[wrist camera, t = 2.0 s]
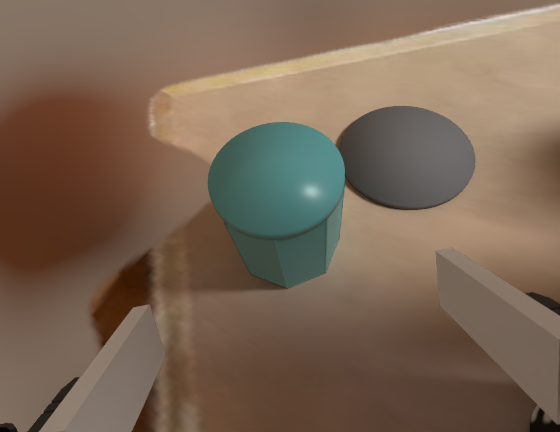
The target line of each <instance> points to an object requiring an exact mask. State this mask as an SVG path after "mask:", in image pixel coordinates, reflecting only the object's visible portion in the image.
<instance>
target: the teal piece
mask: <svg viewBox="0 0 560 432" xmlns="http://www.w3.org/2000/svg"><path fill="white" fill-rule="evenodd" d="M344 187H345V167H344V162H343V159H342V156H341V154H340V152H339V150H338V148H337V147H336V146H335V144H334V143H333V142H332V141H331V140H330V139H329V138H328V137H326V136H325V135H324V134H322V133H321V132H319V131H317V130H315V129H313V128H311V127H308V126H305V125H302V124H296V123H289V122H276V123H268V124H263V125H259V126H256V127H253V128H250V129H248V130H246V131H244V132H242V133H240V134H238V135H237V136H235V137H234V138H232V139H231V140H230V141H229V142H228V143H226V144H225V145H224V146H223V148H222V149H221V150H220V151H219V152H218V154H217V155H216V157H215V159H214V160H213V162H212V165H211V167H210V171H209V175H208V190H209V194H210V198H211V200H212V202H213V205H214V206H215V208H216V210H217V212H218V214H219V215H220V217H221V218H222V219H223V220H224V222H225V225H226V227H227V229H228V231H229V233H230V235H231V237H232V239H233V241H234V243H235V245H236V247H237V249H238V251H239V252H240V254H241V256H242V258H243V260H244V262H245V264H246V266H247V268H248V270H249V272H250V274H252V275H255V276H257V277H260V278H262V279H265V280H267V281H270V282H272V283H275V284H277V285H280V286H282V287H285V288H287V289H288V288H290V287H293V286H295V285H298V284H300V283H302V282H305V281H307V280H310V279H312V278H315V277H317V276H320V275H322V274H324V273H326V271H327V268H328V265H329V263H330V260H331V258H332V255H333V253H334V250H335V248H336V245H337V243H338V240H339V237H340V227H341V217H342V207H343V197H344Z"/></svg>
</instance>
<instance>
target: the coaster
mask: <svg viewBox="0 0 560 432" xmlns="http://www.w3.org/2000/svg"><path fill="white" fill-rule="evenodd" d="M340 154H341V156H342V159H343V162H344V167H345V176H346V178H347V179H348V181H349V182H350V183H351V184H352V185H353V187H354V188H355V189H356V190H358V191H359V192H360V193H361V194H363V195H364V196H366V197H367V198H369V199H371V200H373V201H375V202H377V203H379V204H382V205H385V206H388V207H393V208H397V209H406V210H418V209H427V208H431V207H435V206H438V205H441V204H444V203H446V202H448V201H450V200H451V199H453V198H454V197H456V196H457V195H458V194H459V193H460V192H461V191H462V190H463V189H464V188H465V187H466V185H467V184H468V182H469V181H470V179H471V177H472V175H473V172H474V168H475V154H474V150H473V147H472V144H471V142H470V140H469V139H468V137H467V136H466V134H465V133H464V132H463V131H462V130H461V129H460V128H459V127H458V126H457V125H456V124H455V123H453V122H452V121H451V120H449V119H447V118H446V117H444V116H442V115H440V114H438V113H435V112H433V111H430V110H426V109H422V108H418V107H411V106H393V107H386V108H381V109H378V110H374V111H372V112H369V113H367V114H365V115H363V116H362V117H360V118H359V119H357V120H356V121H355V122H354V123H353V124H352V125H351V126H350V127H349V128H348V129H347V131H346V132H345V134H344V136H343V138H342V141H341V146H340Z"/></svg>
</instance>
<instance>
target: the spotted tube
mask: <svg viewBox="0 0 560 432" xmlns="http://www.w3.org/2000/svg"><path fill="white" fill-rule="evenodd" d="M530 432H560V424H556V423H555V422H554V421H553V420H552V419H551V418H550V417H549V416H548V415H547V414H546V413H545V412H544V411H543V410H542V409H541V408H540V407H539V406H538V405H537V406H536V407H535V409H534V411H533V414H532V418H531V421H530Z"/></svg>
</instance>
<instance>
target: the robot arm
mask: <svg viewBox="0 0 560 432" xmlns="http://www.w3.org/2000/svg"><path fill="white" fill-rule="evenodd" d="M436 264H437V277H438V291H439V304H440V306H441V307H442V308H443V309H444V310H445V311H446V312H447V313H448V314H449V315H450V316H451V317H452V318H453V319H454V320H455V321H456V322H457V324H458V325H459V326H460V327H461V328H462V329H463V330H464V331H465V332H466V333H467V334H468V335H469V336H470V337H471V338H472V339H473V340H474V341H475V342H476V343H477V344H478V345H479V346H480V347H481V348H482V349H483V350H484V351H485V352H486V353H487V354H488V355H489V356H490V357H491V358H492V359H493V360H494V361H495V362H496V363H497V364H498V365H499V366H500V367H501V368H502V369H503V370H504V371H505V372H506V373H507V374H508V375H509V376H510V377H511V378H512V379H513V380H514V381H515V382H516V383H517V384H518V385H519V386H520V387H521V388H522V389H523V391H524V392H525V393H526V394H527V395H528V396H529V397H530V398H531V399H532V400H533V401H534V402H535V403H536V404H537V405H538V406H539V407H540V408H541V409H542V410H543V411H544V412H545V413H546V414H547V415H548V416H549V417H550V418H551V419H552V420H553V421H554V422H555V423H556V424H560V304H559V303H557V302H555V301H554V300H552V299H550V298H548V297H545V296H542V295H539V294H536V293H533V292H531V293H523V292H521V291H520V290H518V289H517V288H515V287H513V286H512V285H510V284H509V283H507V282H506V281H504V280H502V279H501V278H499V277H498V276H496V275H495V274H493V273H491V272H490V271H488V270H487V269H485V268H484V267H482V266H480V265H479V264H477V263H476V262H474V261H472V260H471V259H469V258H468V257H466V256H465V255H463V254H461V253H460V252H458V251H457V250H455V249H454V248H449V249H443V250H438V251H436ZM165 357H166V355H165V352H164V349H163V345H162V342H161V339H160V336H159V333H158V329H157V326H156V323H155V320H154V317H153V314H152V310H151V307H150V304H149V305H144V306H138V307H133V308H132V310H131V311H130V312H129V314H128V315H127V316H126V318H125V319H124V320H123V321H122V323H121V324H120V325H119V327H118V328H117V329H116V331H115V332H114V333H113V335H112V336H111V337H110V339H109V340H108V341H107V343H106V344H105V345H104V347H103V348H102V349H101V350H100V352H99V353H98V354H97V356H96V357H95V358H94V360H93V361H92V362H91V364H90V365H89V366H88V368H87V369H86V370H85V372H84V373H83V374H82V376H81V377H77V378H74V379H73V380H72V381H71V382H70V383H68V384H67V385H66V386H65V387H64V388H62V389H61V391H60V392H59V393H58V394H57V395H56V397H55V398H54V399H53V400H52V403H51V404H49V405H48V407H47V408H46V409H45V411H44V413H43V414H41V416H40V417H39V418H38V419H37V421H36V422H35V423H34V425H33V426H32V427H31V428H30V429H29V431H28V432H132V430H133V428H134V426H135V423H136V421H137V419H138V417H139V415H140V412H141V410H142V408H143V406H144V403H145V401H146V399H147V397H148V395H149V392H150V390H151V388H152V386H153V383H154V381H155V379H156V377H157V375H158V372H159V370H160V368H161V366H162V363H163V361H164V359H165ZM0 432H18V431H17V429H16V427H15V426H14V425H13V424H12V423H4V424H0Z"/></svg>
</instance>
